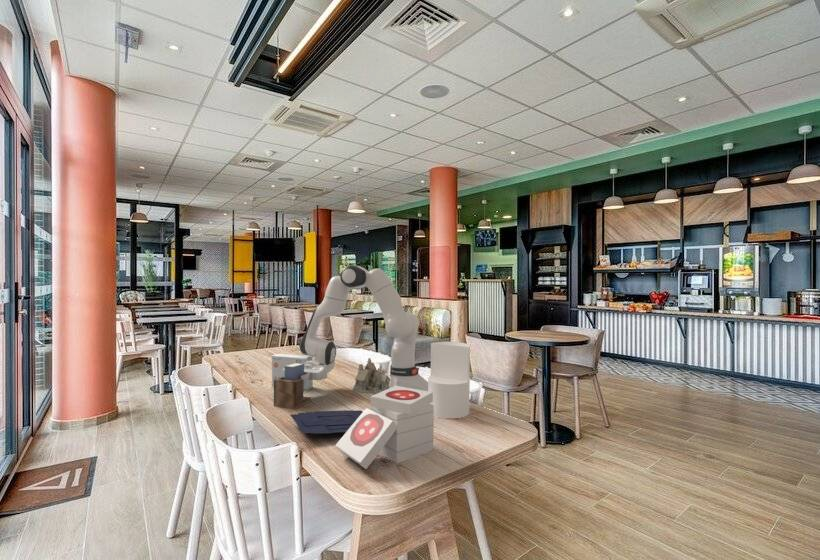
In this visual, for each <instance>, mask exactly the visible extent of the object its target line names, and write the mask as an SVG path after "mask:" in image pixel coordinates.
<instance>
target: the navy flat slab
mask: <svg viewBox="0 0 820 560" xmlns="http://www.w3.org/2000/svg"><path fill="white" fill-rule="evenodd" d="M362 412H363V410H360V409H359V410H347V409H344V410H340V409H339V410H319V411H316V410H315V411H309V412H307V411H306V412H298V413H297V414H296V413H294V414H293V413H292V414H289V415H290V417H291V419H292V420H293V421H294V422H295V424H296V425H297V426H298V428H299V430H300V431H301V433H303V434H337V433H346V432H347V431H348V429H349V428H350V427H351V426H352V425H353V423H354V422H355V421H356V420H357V419H358V417H359V416H360V415H361V414H362Z"/></svg>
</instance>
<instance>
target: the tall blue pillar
mask: <svg viewBox="0 0 820 560" xmlns="http://www.w3.org/2000/svg"><path fill="white" fill-rule="evenodd" d="M300 375H304V364H298V363H295V364H291V365H287V366H285V377H284V380H290V381H295V380H298V379H299V376H300ZM304 391H305V389H304V379H303V395H304V394H305V393H304Z"/></svg>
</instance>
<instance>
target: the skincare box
mask: <svg viewBox="0 0 820 560" xmlns="http://www.w3.org/2000/svg"><path fill="white" fill-rule="evenodd" d="M313 358H314V357H313V356H308V355H299V354H298V355H295V354H286V353H283V354H282V353H276V354H273V355H271V386H272V387H274V379H277V378H279V377H284V376H283V369H284V368H285V366H287V365H291V364H295V363H298V364H304V363H306V362H308V361H311V360H313ZM313 385H314V383H313V380H307V379H304V390H307V391H308V390H309V389H311V388H314V387H313Z"/></svg>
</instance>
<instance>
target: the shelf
mask: <svg viewBox="0 0 820 560" xmlns="http://www.w3.org/2000/svg"><path fill="white" fill-rule="evenodd" d="M311 401H312V396H311V397H310V396H304V394H303V379H298V380H295V381H290V380H284V377H279V378H277V379H274V386H273V406H274V407H280V408H286V409H293V410H296V409H297V408H299V407H301V406H303V405H305V404H308V403H309V402H311Z"/></svg>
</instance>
